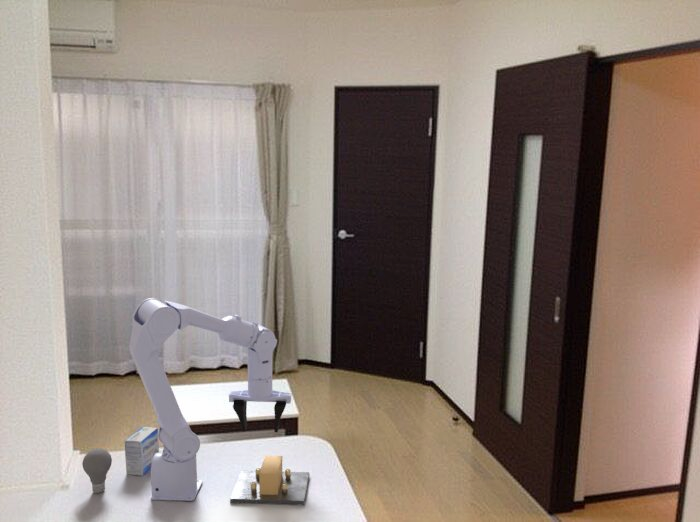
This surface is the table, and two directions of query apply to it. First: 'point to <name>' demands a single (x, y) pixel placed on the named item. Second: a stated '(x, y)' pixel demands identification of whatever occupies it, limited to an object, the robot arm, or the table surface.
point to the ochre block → (270, 475)
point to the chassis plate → (288, 494)
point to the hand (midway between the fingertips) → (260, 430)
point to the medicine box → (141, 450)
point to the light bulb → (97, 467)
